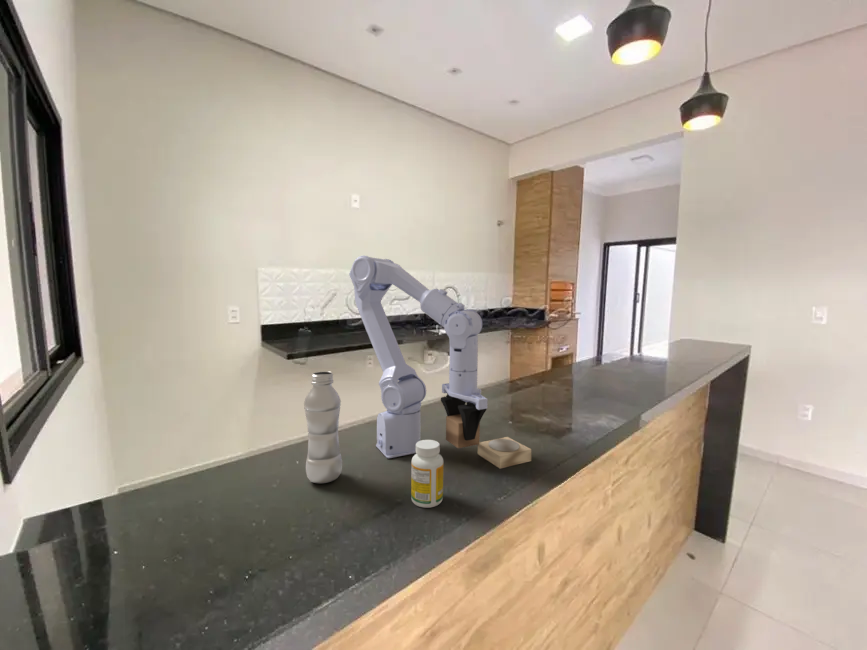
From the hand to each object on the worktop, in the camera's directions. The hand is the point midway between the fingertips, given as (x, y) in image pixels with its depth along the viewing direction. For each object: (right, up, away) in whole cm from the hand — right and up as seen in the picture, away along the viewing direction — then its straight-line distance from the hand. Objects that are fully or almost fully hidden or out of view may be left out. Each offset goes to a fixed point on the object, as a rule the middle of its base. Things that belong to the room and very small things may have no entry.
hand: (462, 434), depth 78 cm
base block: (+9, -6, +3) cm, 11 cm away
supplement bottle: (-7, -7, -14) cm, 17 cm away
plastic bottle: (-26, -6, -7) cm, 28 cm away
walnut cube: (0, -2, 0) cm, 2 cm away
